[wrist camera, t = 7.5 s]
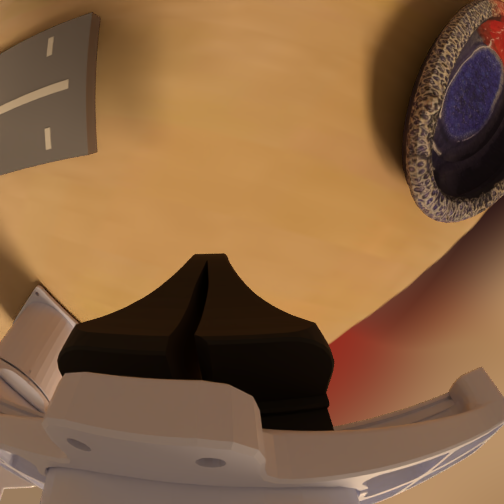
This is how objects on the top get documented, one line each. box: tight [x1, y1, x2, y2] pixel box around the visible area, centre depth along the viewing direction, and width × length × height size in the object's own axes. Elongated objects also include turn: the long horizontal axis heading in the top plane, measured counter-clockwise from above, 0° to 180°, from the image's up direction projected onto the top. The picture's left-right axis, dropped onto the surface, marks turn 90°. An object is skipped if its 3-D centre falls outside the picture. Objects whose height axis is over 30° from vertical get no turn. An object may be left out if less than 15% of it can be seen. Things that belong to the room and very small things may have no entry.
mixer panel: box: [0, 12, 100, 175], centre depth 13 cm, size 18×11×2 cm, turn 89°
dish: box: [402, 0, 504, 223], centre depth 14 cm, size 16×31×5 cm, turn 139°
